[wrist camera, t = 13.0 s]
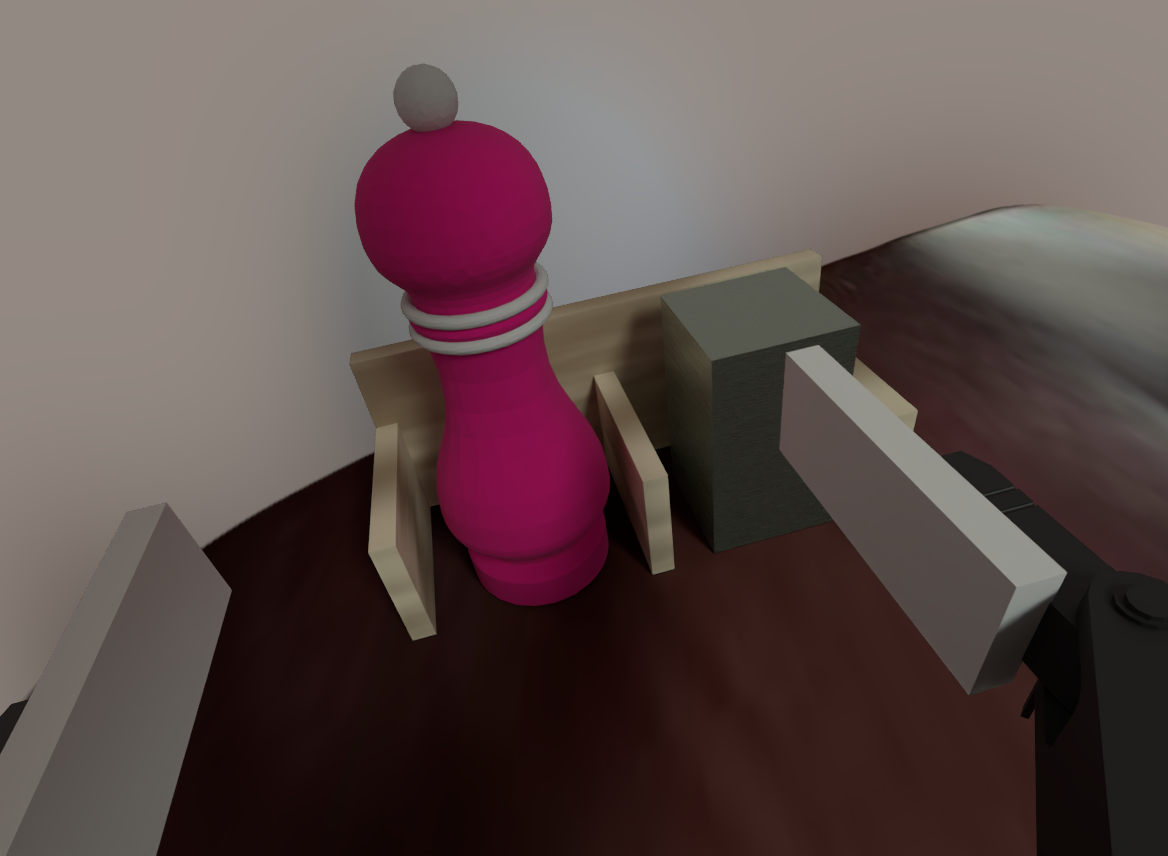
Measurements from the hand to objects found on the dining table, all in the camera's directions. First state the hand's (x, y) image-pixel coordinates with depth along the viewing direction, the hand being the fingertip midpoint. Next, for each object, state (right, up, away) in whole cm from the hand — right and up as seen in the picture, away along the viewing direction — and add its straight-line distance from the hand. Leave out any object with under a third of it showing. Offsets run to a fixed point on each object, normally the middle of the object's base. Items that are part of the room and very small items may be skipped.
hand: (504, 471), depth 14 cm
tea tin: (+10, -2, +17) cm, 19 cm away
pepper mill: (0, -5, +16) cm, 17 cm away
